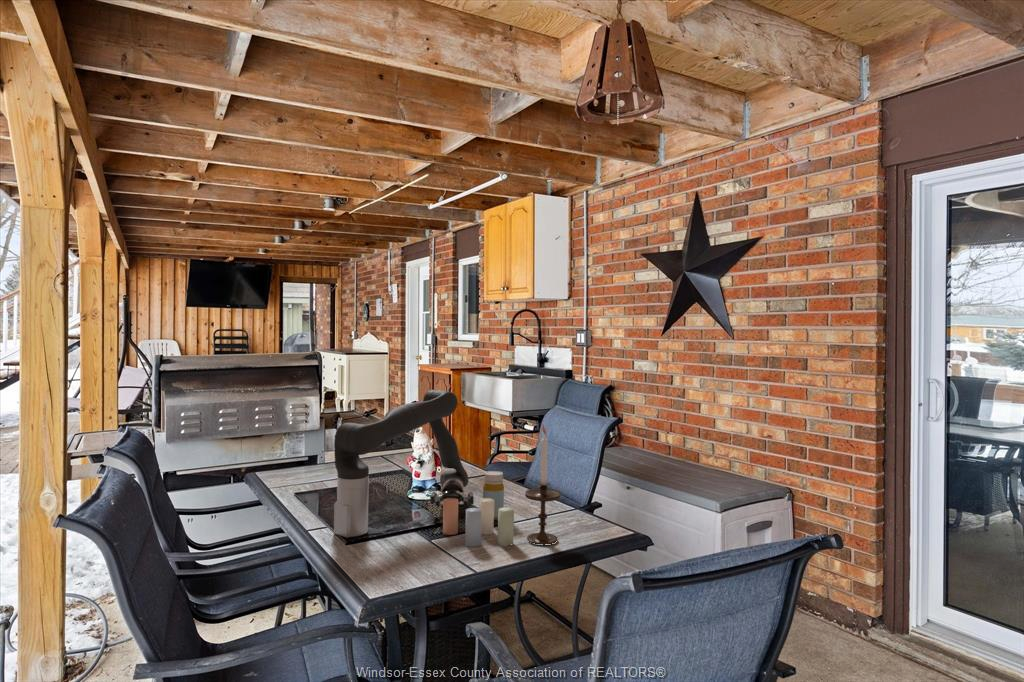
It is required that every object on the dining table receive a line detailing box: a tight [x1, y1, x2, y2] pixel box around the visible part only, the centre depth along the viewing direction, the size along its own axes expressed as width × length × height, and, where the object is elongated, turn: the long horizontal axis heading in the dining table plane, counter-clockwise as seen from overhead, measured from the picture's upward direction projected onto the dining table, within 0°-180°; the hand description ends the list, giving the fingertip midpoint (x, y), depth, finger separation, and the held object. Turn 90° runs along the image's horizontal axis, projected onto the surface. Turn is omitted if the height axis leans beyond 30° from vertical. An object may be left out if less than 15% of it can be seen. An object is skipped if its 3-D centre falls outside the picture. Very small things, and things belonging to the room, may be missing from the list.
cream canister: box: [478, 497, 495, 536], centre depth 190 cm, size 5×5×10 cm
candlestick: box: [524, 425, 563, 545], centre depth 184 cm, size 11×11×35 cm
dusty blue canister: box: [464, 507, 482, 548], centre depth 180 cm, size 5×5×10 cm
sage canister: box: [497, 507, 515, 547], centre depth 181 cm, size 5×5×10 cm
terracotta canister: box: [442, 498, 459, 536], centre depth 190 cm, size 5×5×10 cm
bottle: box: [482, 470, 505, 521], centre depth 205 cm, size 7×7×15 cm
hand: (451, 504), depth 199 cm, fingers open, 8 cm apart
